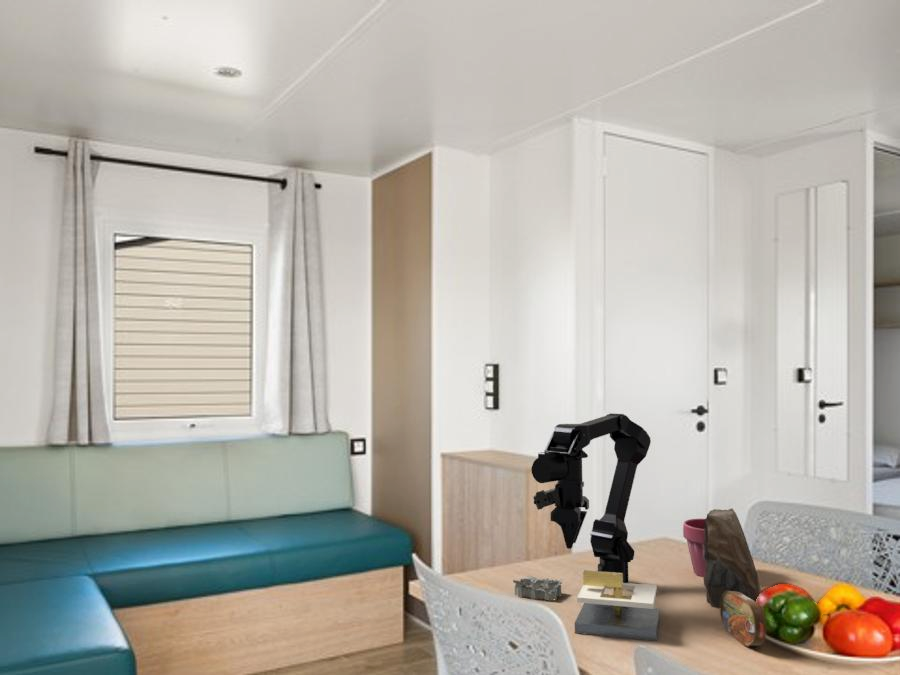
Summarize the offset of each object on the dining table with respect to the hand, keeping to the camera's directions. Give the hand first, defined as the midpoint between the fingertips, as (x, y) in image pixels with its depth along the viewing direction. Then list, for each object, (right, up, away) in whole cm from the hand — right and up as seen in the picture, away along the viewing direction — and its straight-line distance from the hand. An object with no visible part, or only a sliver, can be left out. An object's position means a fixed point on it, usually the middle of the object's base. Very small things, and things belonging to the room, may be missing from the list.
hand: (571, 545), depth 180 cm
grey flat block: (+7, -11, -19) cm, 23 cm away
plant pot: (+39, -12, +18) cm, 45 cm away
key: (+5, -9, -19) cm, 22 cm away
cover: (+7, -5, -19) cm, 21 cm away
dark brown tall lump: (+36, -12, -5) cm, 38 cm away
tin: (+30, -11, -28) cm, 42 cm away
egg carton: (-7, -13, +2) cm, 15 cm away
